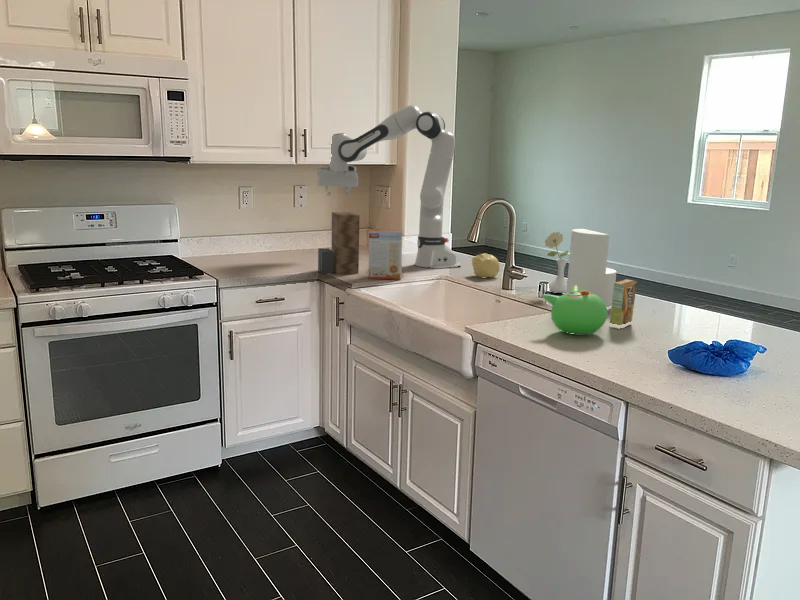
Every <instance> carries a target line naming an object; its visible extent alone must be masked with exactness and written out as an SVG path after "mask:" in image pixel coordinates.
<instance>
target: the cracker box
mask: <svg viewBox="0 0 800 600" xmlns="http://www.w3.org/2000/svg"><path fill="white" fill-rule="evenodd" d="M368 233H369V234H368V235H369V236H368V279H374V280H394V281H395V280H397V281H399V280H401V279H402V272H403V269H402V268H403V267H402V266H403V265H402V264H403V230H397V229H396V230H393V229H392V230H390V229H370V230H369V231H368Z"/></svg>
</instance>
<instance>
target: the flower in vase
mask: <svg viewBox="0 0 800 600" xmlns="http://www.w3.org/2000/svg"><path fill="white" fill-rule="evenodd" d="M563 239H564V235H563V233H561V232H558V231H556V232H552V233H550V234H549V236H547V237H546V238H545V241H544V243H545V246H546V247H548V248H550V249H551V248H552V249H553V248H556V251H555V250H552V251H550V252H548V253H547V256H549V257H555V256H556V255H558V258H555V261H556V263H557V271H558V272H557V277H556V278H555V279H554V280H552V281H551V282H549V283H548V284H549V288H550V291H551V292H556V293H566V291H567V280H566V279H565V274H564V273H565V267H566V265H567V263H569V259H567V258H562V257H566V256H568V254H569V250H566V251H563V252H561V253H560V254H559V252H558V246H560V244H561V243H562V242H563ZM551 292H550V293H551Z"/></svg>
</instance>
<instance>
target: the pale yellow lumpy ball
mask: <svg viewBox="0 0 800 600" xmlns="http://www.w3.org/2000/svg"><path fill="white" fill-rule="evenodd" d="M471 265H472V268H473V274H474V275H475V276H476V277H478V276H479V277H478V278H480V277H490V278H494V277H496V276H498V274H499V271H500V262H499V260H498V258H497V257H496V256H494V255H493V254H488V253H485V252H484V253H480V254H477V255H475V256H473V257H472V258H471Z"/></svg>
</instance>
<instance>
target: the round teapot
mask: <svg viewBox="0 0 800 600" xmlns="http://www.w3.org/2000/svg"><path fill="white" fill-rule="evenodd" d="M541 297H542V299H544V300H545V301H546V302H547V303H549V304H550V305H552V307H551V312H550V315H551V319H552V322H553V324H554V325H555V326H556V328H558V330H560V331H561V330H562V331H561V332H563V331H564V333H565V332H568V333H574V334H586V335H590V334H593V333H595V332H596V331H598V330H600V329H601V328H602V327H603V326H604V325H605V322H606V320H607V317H608V310H607V308H606V305H605V303H604V302H603V300H602V299H601V298H600V297H599V296H597V295H595V294H593V293H591V292H589V291H583V290H579V288H578V286H577V285H575V286H573V288H572V289H571V291H570V292H568V293H565V294H560V295H553V294H547V293H546V294H545V293H544V294H541ZM568 333H567V334H568ZM589 333H590V334H589Z"/></svg>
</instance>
